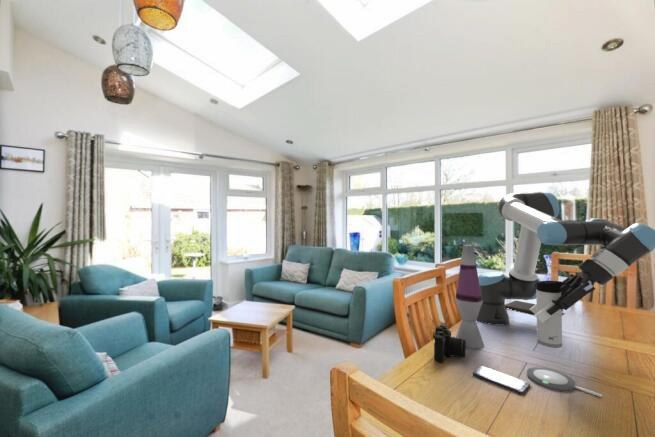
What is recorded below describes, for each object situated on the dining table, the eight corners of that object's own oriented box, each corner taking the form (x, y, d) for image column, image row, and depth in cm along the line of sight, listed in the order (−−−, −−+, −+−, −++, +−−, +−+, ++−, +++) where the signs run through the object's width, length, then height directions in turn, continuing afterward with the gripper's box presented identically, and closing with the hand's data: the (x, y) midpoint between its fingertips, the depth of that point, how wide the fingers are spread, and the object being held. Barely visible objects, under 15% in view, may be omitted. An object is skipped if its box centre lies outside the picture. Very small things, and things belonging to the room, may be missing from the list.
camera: (463, 368, 100) (463, 339, 100) (430, 361, 105) (430, 333, 105) (467, 352, 112) (466, 326, 112) (437, 346, 117) (437, 321, 117)
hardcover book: (515, 304, 175) (515, 300, 175) (563, 313, 156) (563, 309, 156) (503, 309, 165) (503, 305, 165) (553, 320, 147) (553, 315, 147)
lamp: (457, 335, 127) (456, 243, 128) (485, 341, 121) (484, 244, 121) (452, 344, 119) (451, 245, 119) (482, 351, 112) (480, 246, 113)
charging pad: (521, 379, 93) (521, 375, 93) (533, 366, 100) (533, 363, 100) (598, 406, 79) (598, 402, 79) (605, 389, 87) (604, 385, 87)
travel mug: (557, 350, 88) (555, 283, 88) (533, 342, 93) (531, 279, 93) (567, 345, 90) (566, 280, 90) (543, 338, 96) (542, 277, 96)
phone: (472, 375, 95) (472, 372, 95) (481, 368, 99) (481, 365, 99) (522, 395, 84) (522, 391, 84) (530, 386, 89) (530, 382, 89)
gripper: (578, 254, 97) (520, 299, 103) (603, 262, 79) (531, 315, 86) (599, 271, 94) (538, 316, 101) (630, 283, 77) (554, 336, 84)
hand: (535, 315), depth 93 cm, fingers closed on travel mug, 6 cm apart
